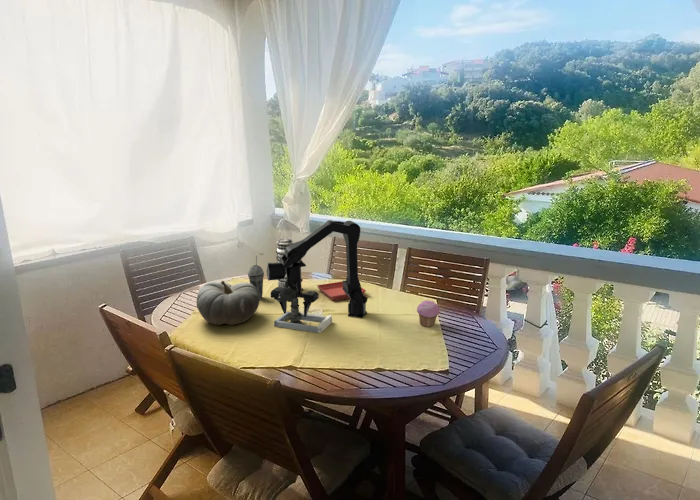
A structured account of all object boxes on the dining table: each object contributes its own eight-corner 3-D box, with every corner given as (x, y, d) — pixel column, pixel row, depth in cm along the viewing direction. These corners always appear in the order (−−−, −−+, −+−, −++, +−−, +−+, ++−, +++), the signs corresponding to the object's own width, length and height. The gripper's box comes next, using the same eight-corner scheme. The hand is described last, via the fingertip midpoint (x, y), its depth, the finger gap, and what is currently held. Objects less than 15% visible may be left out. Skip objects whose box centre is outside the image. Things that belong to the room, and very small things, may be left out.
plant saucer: (316, 291, 236) (316, 284, 235) (350, 286, 244) (350, 279, 243) (330, 303, 220) (330, 296, 220) (366, 297, 228) (366, 290, 227)
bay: (331, 322, 199) (331, 315, 198) (320, 333, 188) (320, 325, 188) (287, 315, 205) (287, 309, 205) (274, 326, 195) (273, 319, 194)
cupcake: (425, 319, 202) (426, 296, 199) (443, 325, 196) (444, 301, 193) (412, 325, 196) (412, 301, 193) (429, 331, 190) (430, 307, 187)
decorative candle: (295, 292, 234) (293, 241, 228) (276, 292, 234) (273, 241, 228) (297, 286, 243) (296, 236, 236) (278, 286, 243) (276, 236, 237)
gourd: (191, 306, 209) (195, 268, 204) (249, 307, 219) (255, 271, 215) (198, 334, 187) (203, 293, 182) (262, 334, 198) (268, 294, 193)
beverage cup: (246, 299, 224) (243, 257, 219) (254, 294, 231) (252, 253, 226) (259, 301, 222) (257, 259, 217) (268, 296, 228) (266, 255, 223)
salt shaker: (288, 320, 201) (287, 292, 198) (302, 319, 201) (301, 292, 198) (287, 326, 195) (286, 297, 192) (302, 325, 196) (301, 297, 193)
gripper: (262, 281, 189) (264, 319, 193) (306, 286, 183) (307, 325, 187) (276, 273, 199) (278, 309, 203) (318, 277, 193) (319, 315, 197)
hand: (295, 314), depth 197 cm, fingers open, 9 cm apart
